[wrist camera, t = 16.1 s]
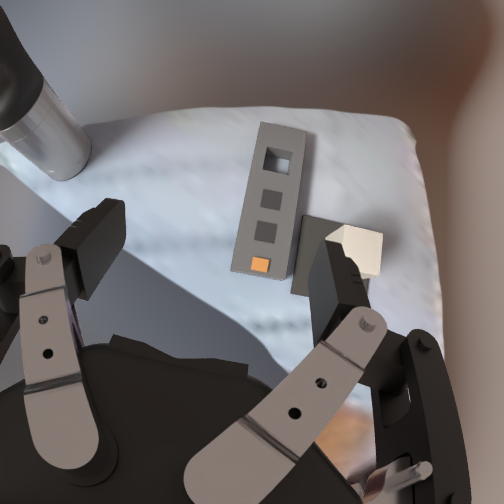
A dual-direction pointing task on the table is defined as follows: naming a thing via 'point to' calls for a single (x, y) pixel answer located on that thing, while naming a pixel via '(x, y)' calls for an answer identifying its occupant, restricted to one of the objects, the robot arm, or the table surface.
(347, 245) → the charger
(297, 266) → the mat
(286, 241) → the power strip
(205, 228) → the table surface
